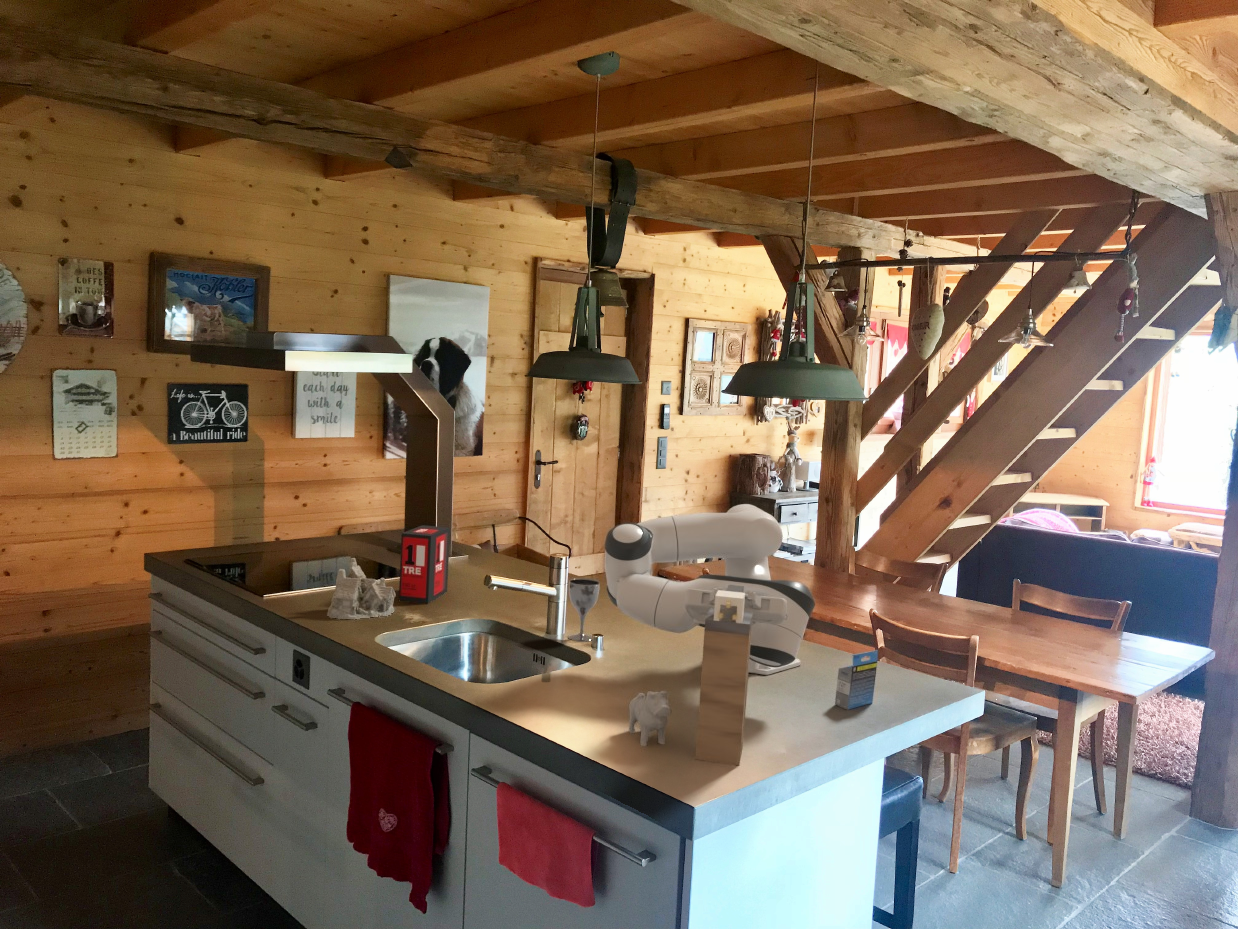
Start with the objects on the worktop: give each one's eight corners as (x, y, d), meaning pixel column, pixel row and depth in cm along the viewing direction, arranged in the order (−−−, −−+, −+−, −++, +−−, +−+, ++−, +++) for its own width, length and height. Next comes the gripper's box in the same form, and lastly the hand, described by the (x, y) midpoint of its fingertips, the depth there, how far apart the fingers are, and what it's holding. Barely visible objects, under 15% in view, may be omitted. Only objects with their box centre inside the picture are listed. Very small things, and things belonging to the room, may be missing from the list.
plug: (722, 599, 188) (724, 576, 188) (747, 601, 187) (749, 579, 187) (712, 622, 169) (714, 597, 169) (740, 625, 168) (742, 600, 168)
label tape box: (859, 698, 214) (863, 645, 213) (874, 704, 211) (879, 649, 210) (834, 705, 208) (838, 650, 207) (849, 710, 205) (853, 655, 204)
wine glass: (596, 634, 254) (599, 579, 252) (596, 642, 246) (600, 585, 244) (566, 633, 253) (569, 577, 252) (565, 641, 246) (569, 584, 244)
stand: (700, 741, 182) (710, 608, 180) (742, 747, 181) (752, 612, 178) (695, 759, 173) (705, 619, 171) (739, 765, 172) (750, 624, 170)
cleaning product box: (419, 589, 293) (422, 525, 291) (447, 592, 292) (450, 527, 290) (398, 601, 277) (401, 533, 275) (428, 604, 275) (431, 535, 274)
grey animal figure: (648, 754, 175) (652, 697, 174) (624, 728, 187) (627, 676, 186) (675, 751, 177) (679, 696, 176) (649, 726, 188) (652, 674, 188)
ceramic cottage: (318, 616, 255) (324, 561, 254) (352, 605, 270) (358, 553, 269) (368, 627, 250) (375, 571, 249) (400, 616, 266) (407, 563, 265)
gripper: (786, 635, 194) (787, 615, 181) (686, 624, 198) (681, 604, 185) (788, 605, 196) (790, 584, 184) (690, 595, 200) (685, 573, 188)
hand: (734, 594), depth 185 cm, fingers open, 5 cm apart
